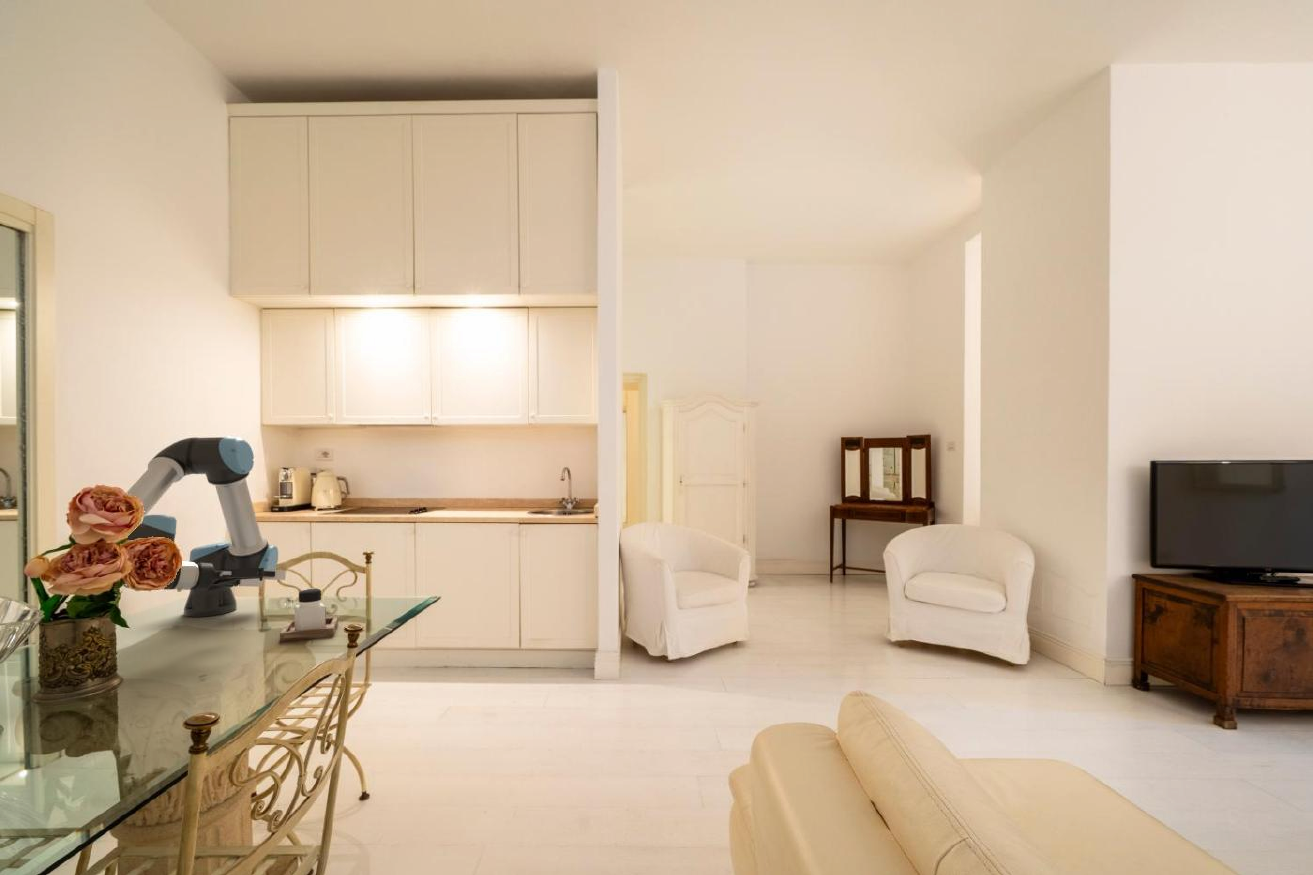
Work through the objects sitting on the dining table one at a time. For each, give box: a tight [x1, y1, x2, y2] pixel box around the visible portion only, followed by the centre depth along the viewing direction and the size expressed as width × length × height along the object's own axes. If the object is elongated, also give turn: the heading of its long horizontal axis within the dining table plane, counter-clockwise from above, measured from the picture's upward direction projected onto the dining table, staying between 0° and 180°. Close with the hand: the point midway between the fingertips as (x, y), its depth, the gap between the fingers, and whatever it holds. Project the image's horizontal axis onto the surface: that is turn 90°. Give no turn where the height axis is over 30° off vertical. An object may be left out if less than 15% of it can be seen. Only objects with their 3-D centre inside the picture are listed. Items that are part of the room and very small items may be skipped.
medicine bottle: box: [294, 587, 327, 631], centre depth 200 cm, size 7×7×12 cm
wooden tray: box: [279, 616, 339, 643], centre depth 200 cm, size 14×14×2 cm
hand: (274, 578), depth 198 cm, fingers open, 13 cm apart
